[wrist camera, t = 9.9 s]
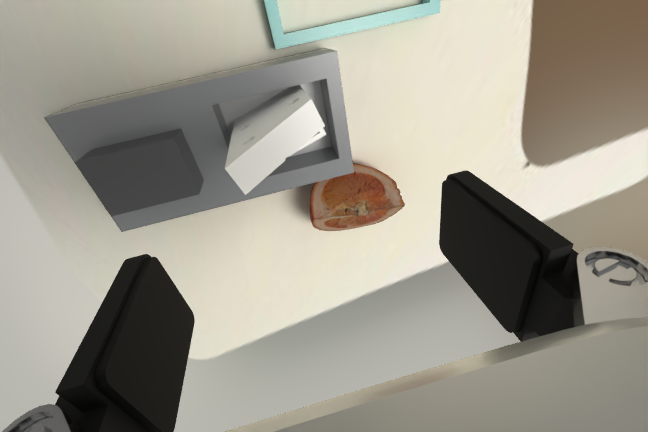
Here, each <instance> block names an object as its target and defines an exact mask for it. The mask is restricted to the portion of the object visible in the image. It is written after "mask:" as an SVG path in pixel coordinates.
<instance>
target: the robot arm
mask: <svg viewBox="0 0 648 432" xmlns="http://www.w3.org/2000/svg"><path fill="white" fill-rule="evenodd" d="M439 245H440V249H441V251H442V253H443V254H444V256H445V257H446V258H447V259H448V260H449V262H450V263H451V264H452V265H453V266H454V268H455V269H456V270H457V271H458V273H460V275H461V276H462V277H463V279H464V280H465V281H466V282H467V283H468V285H469V286H470V287H471V288H472V289H473V291H474V292H475V293H476V294H477V296H478V297H479V298H480V299H481V300H482V302H483V303H484V304H485V305H486V307H487V308H488V309H489V310H490V311H491V313H492V314H493V315H494V316H495V318H496V319H497V320H498V321H499V322H500V324H501V325H502V326H503V327H504V328H505V329H506V330H507V331H508V332H510V333H512V332H513V333H514V334H515V335H516V336H517V337H518V339H519V340H520V341H521V342H519V343H515V344H512V345H508V346H504V347H501V348H498V349H495V350H491V351H488V352H484V353H481V354H478V355H474V356H471V357H468V358H464V359H461V360H458V361H454V362H451V363H448V364H444V365H441V366H438V367H434V368H431V369H428V370H424V371H421V372H418V373H414V374H411V375H408V376H404V377H401V378H398V379H395V380H391V381H388V382H385V383H382V384H378V385H375V386H372V387H369V388H365V389H362V390H359V391H355V392H352V393H349V394H345V395H342V396H339V397H336V398H332V399H329V400H326V401H323V402H319V403H316V404H313V405H309V406H306V407H303V408H300V409H296V410H293V411H290V412H287V413H284V414H280V415H277V416H274V417H271V418H267V419H264V420H261V421H258V422H255V423H251V424H248V425H245V426H242V427H238V428H235V429H232V430H229V431H226V432H648V262H647V261H646V260H644V259H642V258H640V257H639V256H637V255H635V254H632V253H629V252H626V251H624V250H620V249H615V248H610V247H592V248H588V249H585V250H582V251H581V252H580V253H579V254H578V253H577V252H576V251H574V250H573V249H572V247H573V243H571V242H570V241H568V240H567V239H565V238H564V237H563V236H561V235H560V234H558V233H557V232H555V231H554V230H553V229H551V228H550V227H548V226H547V225H545V224H544V223H542V222H541V221H540V220H538V219H537V218H535V217H534V216H532V215H531V214H529V213H528V212H527V211H525V210H524V209H522V208H521V207H519V206H518V205H517V204H515V203H514V202H512V201H511V200H509V199H508V198H506V197H505V196H504V195H502V194H501V193H499V192H498V191H496V190H495V189H493V188H492V187H491V186H489V185H488V184H486V183H485V182H483V181H482V180H481V179H479V178H478V177H476V176H475V175H473V174H472V173H470V172H469V171H462V172H458V173H454V174H450V175H448V176H447V179H446V180H445V181H443V183H442V198H441V219H440V240H439ZM193 327H194V315H193V312H192V310H191V309H190V307H189V306H188V304H187V303H186V301H185V300H184V298H183V297H182V295H181V294H180V292H179V291H178V289H177V288H176V286H175V284H174V283H173V281H172V280H171V278H170V277H169V275H168V274H167V272H166V271H165V269H164V268H163V266H162V265H161V263H160V262H159V260H158V259H157V258H156V257H151V256H149V255H148V254H144V255H141V256H137V257H133V258H129V259H126V260H125V261H124V263H123V264H122V266H121V268H120V270H119V272H118V274H117V276H116V278H115V280H114V282H113V283H112V285H111V287H110V289H109V291H108V293H107V295H106V297H105V299H104V301H103V302H102V304H101V306H100V308H99V310H98V312H97V314H96V316H95V318H94V320H93V322H92V324H91V325H90V327H89V329H88V331H87V333H86V335H85V337H84V339H83V341H82V342H81V344H80V346H79V348H78V350H77V352H76V354H75V356H74V358H73V360H72V361H71V363H70V365H69V367H68V369H67V371H66V373H65V375H64V377H63V379H62V380H61V382H60V384H59V386H58V388H57V390H56V393H57V394H58V395H59V398H58V400H57V402H56V404H55V405H52V404H47V405H43V406H39V407H37V408H34V409H32V410H30V411H28V412H27V413H25V414H24V415H22V416H21V417H19V418H18V419H16V420H15V421H14V422H12V423H11V424H10V425H9V426H8V427H7V428H6V429H4V430H3V432H173V431H174V428H175V423H176V418H177V413H178V407H179V402H180V396H181V391H182V386H183V380H184V375H185V370H186V365H187V359H188V354H189V349H190V343H191V338H192V333H193Z"/></svg>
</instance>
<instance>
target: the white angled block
mask: <svg viewBox="0 0 648 432" xmlns="http://www.w3.org/2000/svg"><path fill="white" fill-rule="evenodd" d="M323 127H325V125H324V123H323V121H322V119H321V117H320V115H319V113H318V111H317V109H316V107H315V105H314V103H313V101H312V99H311V98H310V97H309V96H308V94H307V93H306V92H305V91H304V90H303V88H302V87H301V86H300V85H296V86H292V87H289V88H287V89H286V90H284V91H282V92H281V93H279V94H277V95H276V96H274V97H272V98H271V99H269V100H267V101H266V102H264V103H262V104H261V105H259V106H257V107H256V108H254V109H252V110H251V111H249V112H247V113H246V114H244V115H242V116H241V117H239V118H237V119H236V120H235V121H234V126H233V131H232V135H231V140H230V145H229V150H228V155H227V160H226V165H225V170H226V171H227V172H228V173H229V175H230V176H231V177H232V179H233V180H234V181H235V182H236V184H237V185H238V186H239V188H240V189H241V190H242V191H243V193H244V194H245V195H246V194H247V193H249V192H250V191H251V190H252V189H253V188H254V187H255V186H257V185H258V184H259V183H260V182H261V181H262V180H263V179H265V178H266V177H267V176H268V175H269V174H270V173H272V172H273V171H274V170H275V169H276V168H277V167H278V166H280V165H281V164H282V163H283V162H284V161H285V160H286V159H285V158H287V157H289V156H291V155H292V154H294V153H295V152H297V151H299V150H301V149H302V148H304V147H306V146H308V145H309V144H311V143H313V142H314V141H316V140H318V139H320V138H321V137H323V136H325V135H327V134H326V132H325V131H324V129H323Z"/></svg>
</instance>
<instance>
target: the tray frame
mask: <svg viewBox="0 0 648 432" xmlns="http://www.w3.org/2000/svg"><path fill="white" fill-rule="evenodd" d="M264 4H265V9H266V13H267V17H268V21H269V25H270V30H271V34H272V38H273V42H274V46H275V49H280V48H285V47H289V46H294V45H298V44H303V43H307V42H312V41H316V40H321V39H325V38H330V37H334V36H339V35H343V34H348V33H352V32H357V31H361V30H366V29H370V28H375V27H379V26H383V25H388V24H392V23H397V22H401V21H406V20H410V19H415V18H419V17H424V16H428V15H433V14H437V13H440V0H422V4H418V5H413V6H409V7H404V8H400V9H395V10H390V11H386V12H381V13H377V14H372V15H368V16H363V17H359V18H354V19H350V20H345V21H340V22H336V23H331V24H327V25H322V26H318V27H313V28H309V29H304V30H300V31H295V32H290V33H286V34H284V32H283V27H282V23H281V18H280V14H279V9H278V5H277V0H264Z"/></svg>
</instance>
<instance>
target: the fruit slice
mask: <svg viewBox="0 0 648 432" xmlns="http://www.w3.org/2000/svg"><path fill="white" fill-rule="evenodd" d="M353 169H354V173H350V174H346V175H342V176H338V177H334V178H330V179H327V180H323V181H319V182H316V183H315V185H314V187H313V189H312V192H311V198H310V217H311V222H312V225H313V226H314V227H315V228H317V229H319V230H324V231H338V230H346V229H352V228H358V227H362V226H368V225H372V224H376V223H379V222H381V221H383V220H385V219H387V218H389V217H390V216H392V215H394V214H395V213H396V212H397V211H399V210H400V209H402V207H404V205H405V204H404V202H403V200H402V196H401V195H400V190H399V189H398V188H397V185H396V182H395V181H394V180H393V179H391V178H390V177H389V176H388V175H386V174H384V173H382V172H381V171H379V170H377V169H374V168H372V167H368V166H364V165H359V164H353Z"/></svg>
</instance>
